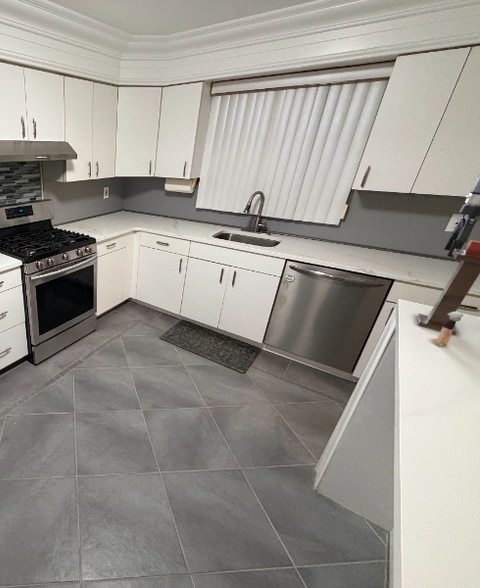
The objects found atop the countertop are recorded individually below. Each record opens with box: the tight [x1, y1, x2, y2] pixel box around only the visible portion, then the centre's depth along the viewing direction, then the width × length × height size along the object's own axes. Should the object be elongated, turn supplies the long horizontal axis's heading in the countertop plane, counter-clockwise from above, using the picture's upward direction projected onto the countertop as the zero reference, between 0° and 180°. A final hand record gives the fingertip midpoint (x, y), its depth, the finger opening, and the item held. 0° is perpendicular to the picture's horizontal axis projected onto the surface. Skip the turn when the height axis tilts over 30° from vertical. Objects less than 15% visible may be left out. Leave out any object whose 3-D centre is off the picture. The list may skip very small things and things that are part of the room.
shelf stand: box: [416, 248, 480, 336], centre depth 116 cm, size 12×10×29 cm
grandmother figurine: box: [432, 311, 464, 347], centre depth 108 cm, size 8×4×13 cm, turn 137°
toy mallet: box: [463, 239, 480, 256], centre depth 113 cm, size 15×6×4 cm, turn 137°
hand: (449, 253), depth 138 cm, fingers open, 13 cm apart
